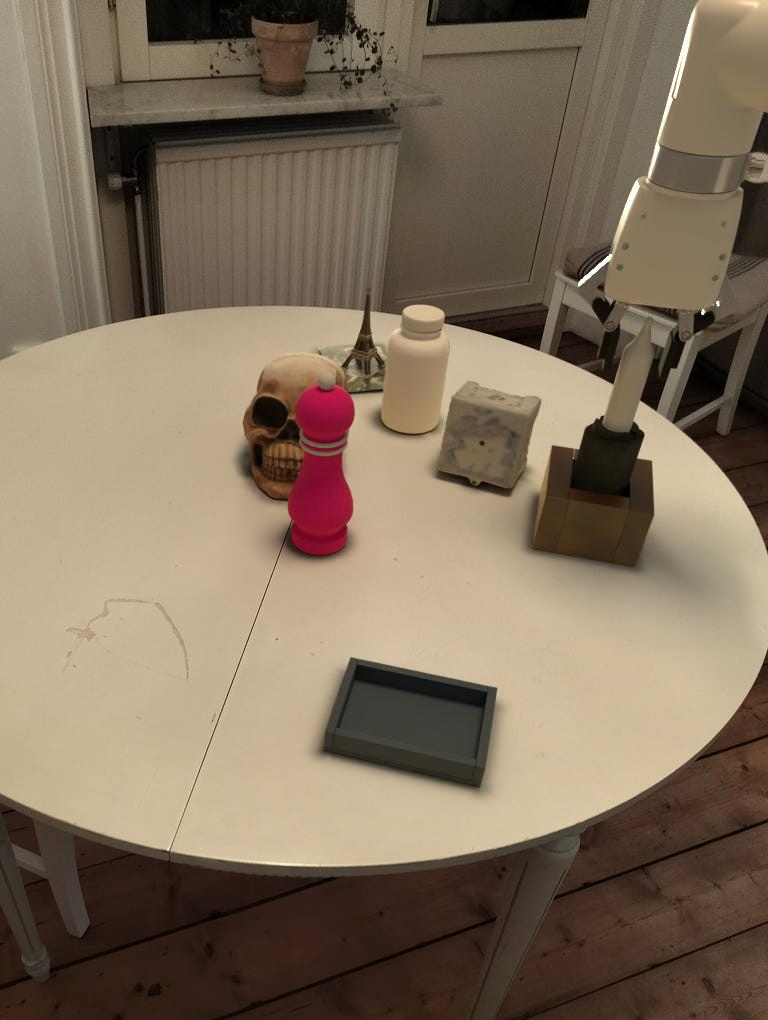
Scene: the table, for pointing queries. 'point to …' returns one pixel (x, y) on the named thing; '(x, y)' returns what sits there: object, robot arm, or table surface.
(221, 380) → the table surface
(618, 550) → the holder
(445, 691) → the tray
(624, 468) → the candle
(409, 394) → the pill bottle
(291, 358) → the skull
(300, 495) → the pepper mill
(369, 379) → the eiffel tower figurine
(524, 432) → the incense holder
